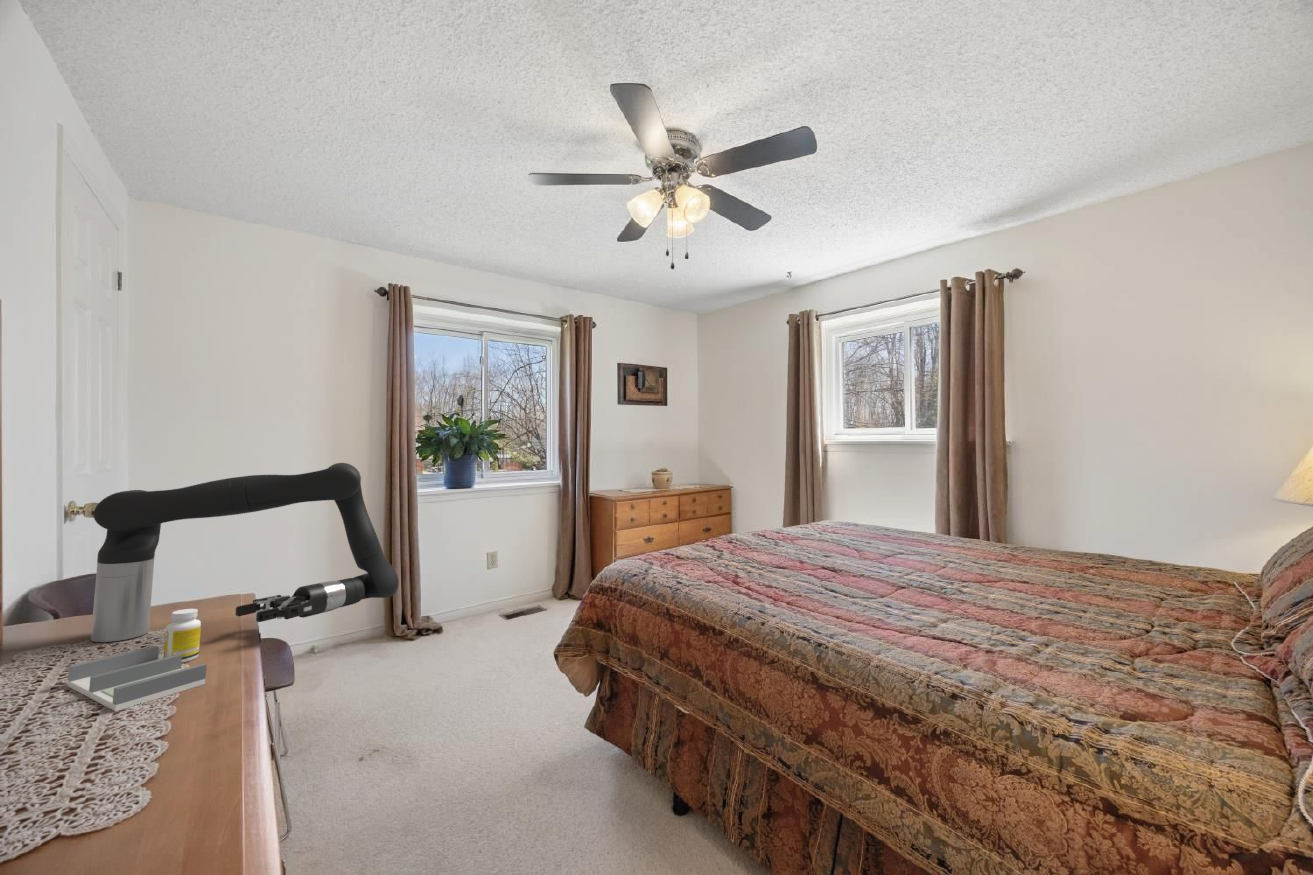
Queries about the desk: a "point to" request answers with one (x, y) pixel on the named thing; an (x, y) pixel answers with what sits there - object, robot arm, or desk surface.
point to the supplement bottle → (183, 635)
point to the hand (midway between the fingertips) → (246, 614)
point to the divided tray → (133, 678)
